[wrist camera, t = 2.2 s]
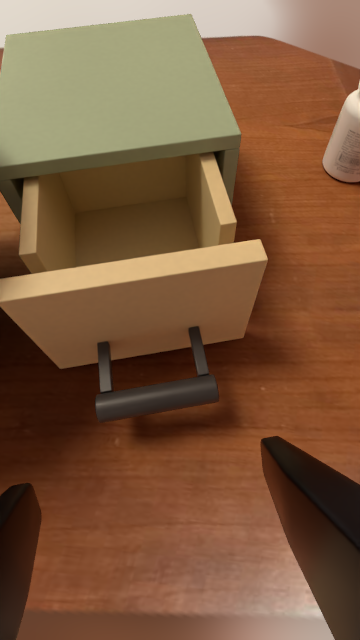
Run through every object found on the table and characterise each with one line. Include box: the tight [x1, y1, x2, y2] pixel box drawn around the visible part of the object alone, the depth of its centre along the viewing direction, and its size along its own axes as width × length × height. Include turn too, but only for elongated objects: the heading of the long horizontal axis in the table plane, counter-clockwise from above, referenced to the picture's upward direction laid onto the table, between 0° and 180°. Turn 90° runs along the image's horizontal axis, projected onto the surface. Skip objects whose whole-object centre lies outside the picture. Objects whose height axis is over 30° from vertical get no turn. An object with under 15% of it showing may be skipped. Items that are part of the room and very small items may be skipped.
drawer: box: [0, 152, 268, 423], centre depth 20 cm, size 17×11×8 cm
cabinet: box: [0, 14, 241, 224], centre depth 24 cm, size 14×13×10 cm
